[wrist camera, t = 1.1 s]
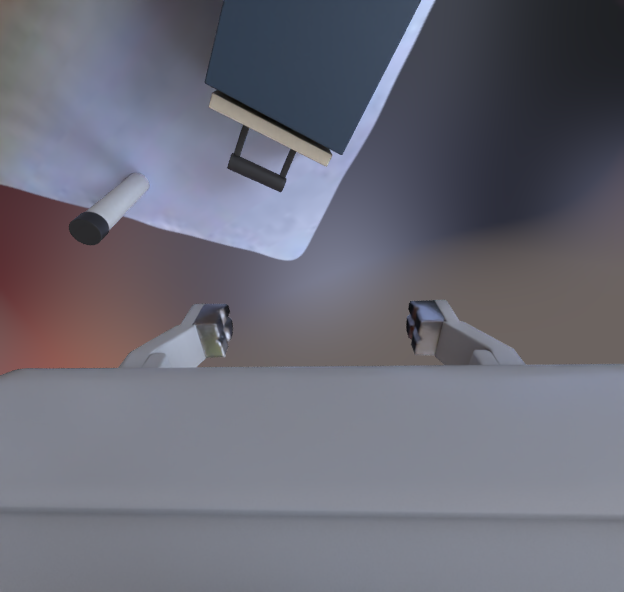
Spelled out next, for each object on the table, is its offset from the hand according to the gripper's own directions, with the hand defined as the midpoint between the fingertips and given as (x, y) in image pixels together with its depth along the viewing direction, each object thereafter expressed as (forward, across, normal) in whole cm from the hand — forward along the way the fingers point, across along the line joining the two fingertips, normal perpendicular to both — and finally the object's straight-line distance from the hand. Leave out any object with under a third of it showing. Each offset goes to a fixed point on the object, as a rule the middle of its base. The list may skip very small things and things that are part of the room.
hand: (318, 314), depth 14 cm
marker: (+28, +22, 0) cm, 36 cm away
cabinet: (+29, +1, -14) cm, 32 cm away
